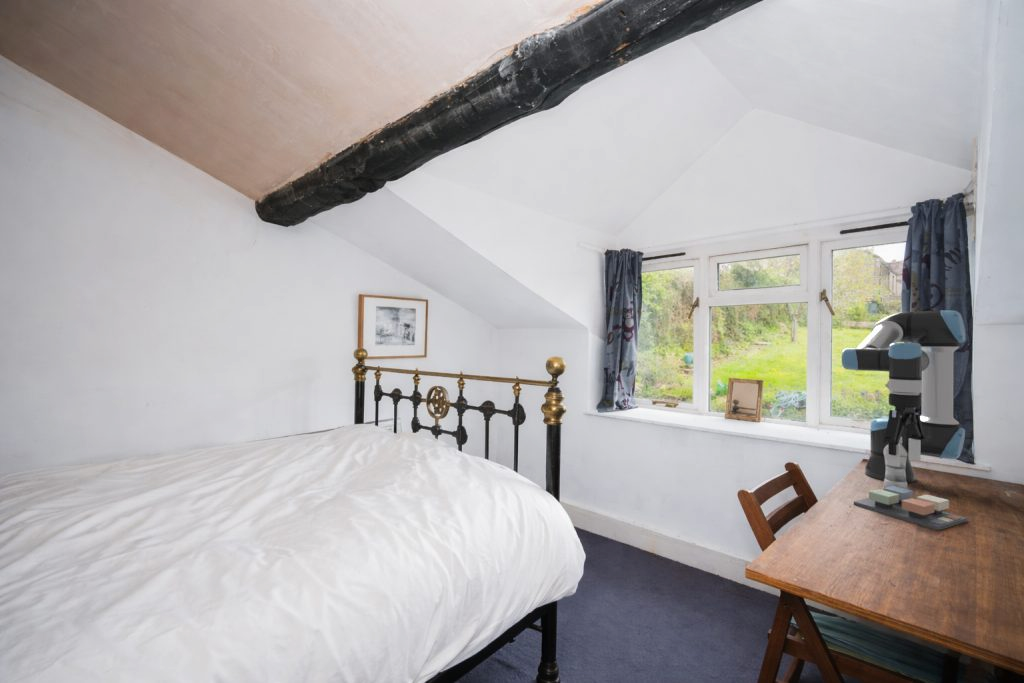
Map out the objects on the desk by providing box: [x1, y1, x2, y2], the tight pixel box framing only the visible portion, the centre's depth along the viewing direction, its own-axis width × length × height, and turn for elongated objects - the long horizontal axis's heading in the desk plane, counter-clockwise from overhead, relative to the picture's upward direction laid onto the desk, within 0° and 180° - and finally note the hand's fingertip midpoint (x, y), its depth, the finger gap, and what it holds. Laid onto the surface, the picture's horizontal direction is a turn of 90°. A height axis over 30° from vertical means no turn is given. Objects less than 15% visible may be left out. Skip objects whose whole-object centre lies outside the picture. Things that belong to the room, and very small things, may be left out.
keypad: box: [853, 497, 968, 531], centre depth 142 cm, size 16×22×3 cm
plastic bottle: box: [882, 437, 909, 490], centre depth 159 cm, size 6×7×20 cm
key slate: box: [883, 486, 914, 501], centre depth 148 cm, size 6×6×2 cm
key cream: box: [916, 494, 950, 511], centre depth 139 cm, size 6×6×2 cm
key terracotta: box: [902, 497, 934, 515], centre depth 136 cm, size 6×6×2 cm
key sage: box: [868, 488, 899, 505], centre depth 145 cm, size 6×6×2 cm
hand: (904, 463), depth 138 cm, fingers open, 13 cm apart
